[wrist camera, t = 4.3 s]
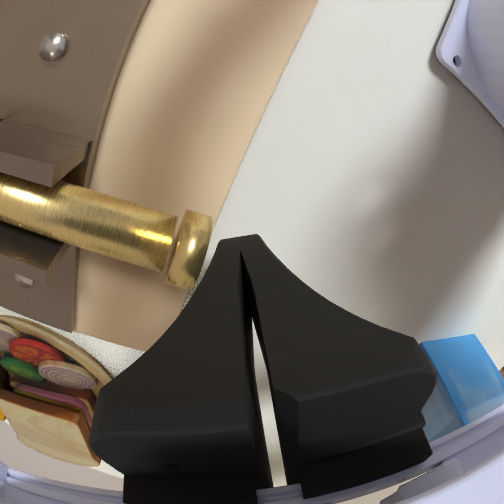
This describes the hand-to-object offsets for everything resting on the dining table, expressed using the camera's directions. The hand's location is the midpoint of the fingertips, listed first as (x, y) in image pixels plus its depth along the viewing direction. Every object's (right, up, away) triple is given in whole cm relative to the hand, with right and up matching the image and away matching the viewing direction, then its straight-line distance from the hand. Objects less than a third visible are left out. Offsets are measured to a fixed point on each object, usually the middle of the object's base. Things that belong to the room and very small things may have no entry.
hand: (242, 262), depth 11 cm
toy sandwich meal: (-14, -8, +7) cm, 18 cm away
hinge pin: (-7, +3, -2) cm, 8 cm away
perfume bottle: (+15, -9, +11) cm, 20 cm away
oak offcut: (-9, +5, -1) cm, 10 cm away
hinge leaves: (-11, +4, -2) cm, 12 cm away
